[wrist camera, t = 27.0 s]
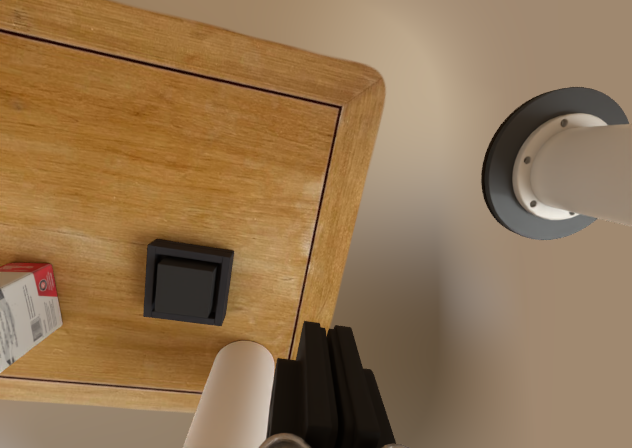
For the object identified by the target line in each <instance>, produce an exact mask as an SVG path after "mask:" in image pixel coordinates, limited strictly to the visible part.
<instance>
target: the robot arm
mask: <svg viewBox="0 0 632 448" xmlns="http://www.w3.org/2000/svg"><path fill="white" fill-rule="evenodd" d="M512 183H513V189H514V193H515V195H516V198H517V200H518V201H519V203H520V204H521V206H522V207H523V208H524V209H525V210H526V211H527V212H529V213H531V214H533V215H534V216H537V217H540V218H543V219H549V220H564V219H568V218H572V217H574V216H577V215H579V214H582V215H586V216H590V217H594V218H599V219H602V220H607V221H611V222H615V223H619V224H624V225H628V226H632V124H621V125H607V124H606V123H605V122H604V121H603V120H601V119H600V118H598V117H596V116H593V115H590V114H584V113H575V114H566V115H561V116H558V117H555V118H553V119H550V120H548V121H547V122H545V123H544V124H542V125H540V126H539V127H538V128H537V129H536V130H535V131H533V132H532V133H531V134H530V136H529V137H528V138H527V139H526V140H525V142H524V143H523V145H522V147H521V148H520V150H519V152H518V155H517V157H516V160H515V163H514V167H513V175H512ZM259 448H409V447H406V446H404V445H401V444H396V442H395V439H394V436H393V432H392V429H391V426H390V423H389V420H388V417H387V414H386V411H385V408H384V405H383V402H382V398H381V396H380V392H379V390H378V386H377V383H376V380H375V377H374V374H373V372H372V371H371V370H370V369H363V367H362V364H361V360H360V357H359V353H358V350H357V346H356V343H355V339H354V336H353V332H352V329H351V328H350V327H345V326H337V325H336V326H335V327H334V329H329V330H328V334H327V337H326V330H325V328H320V323H315V322H308V321H304V323H303V328H302V333H301V338H300V343H299V348H298V353H297V357H296V360H288V359H280V358H278V359H277V363H276V369H275V374H274V380H273V386H272V392H271V400H270V408H269V417H268V425H267V434H266V440H265V441H264V442H263V443H262V444H261V445H260V446H259Z"/></svg>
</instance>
